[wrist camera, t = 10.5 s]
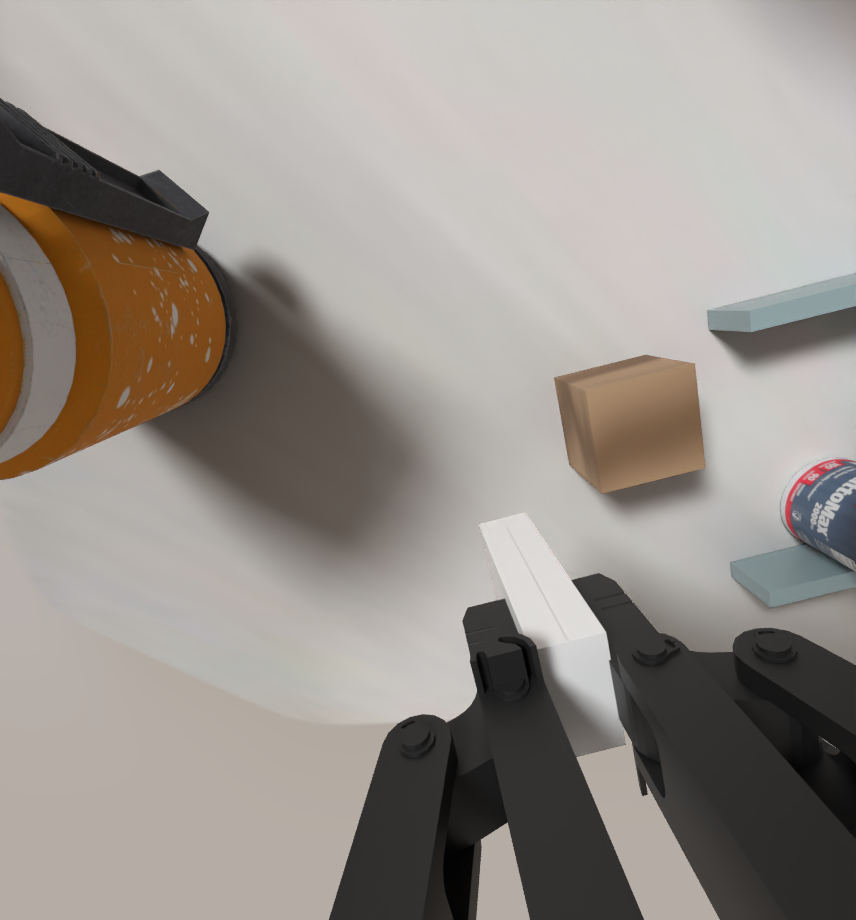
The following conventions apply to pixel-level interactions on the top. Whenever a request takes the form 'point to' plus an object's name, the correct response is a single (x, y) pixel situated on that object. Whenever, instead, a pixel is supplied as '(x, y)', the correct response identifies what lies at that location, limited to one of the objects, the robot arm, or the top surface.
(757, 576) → the box
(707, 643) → the top surface
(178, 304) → the canister
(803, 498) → the pill bottle
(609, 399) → the tan block
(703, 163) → the top surface
